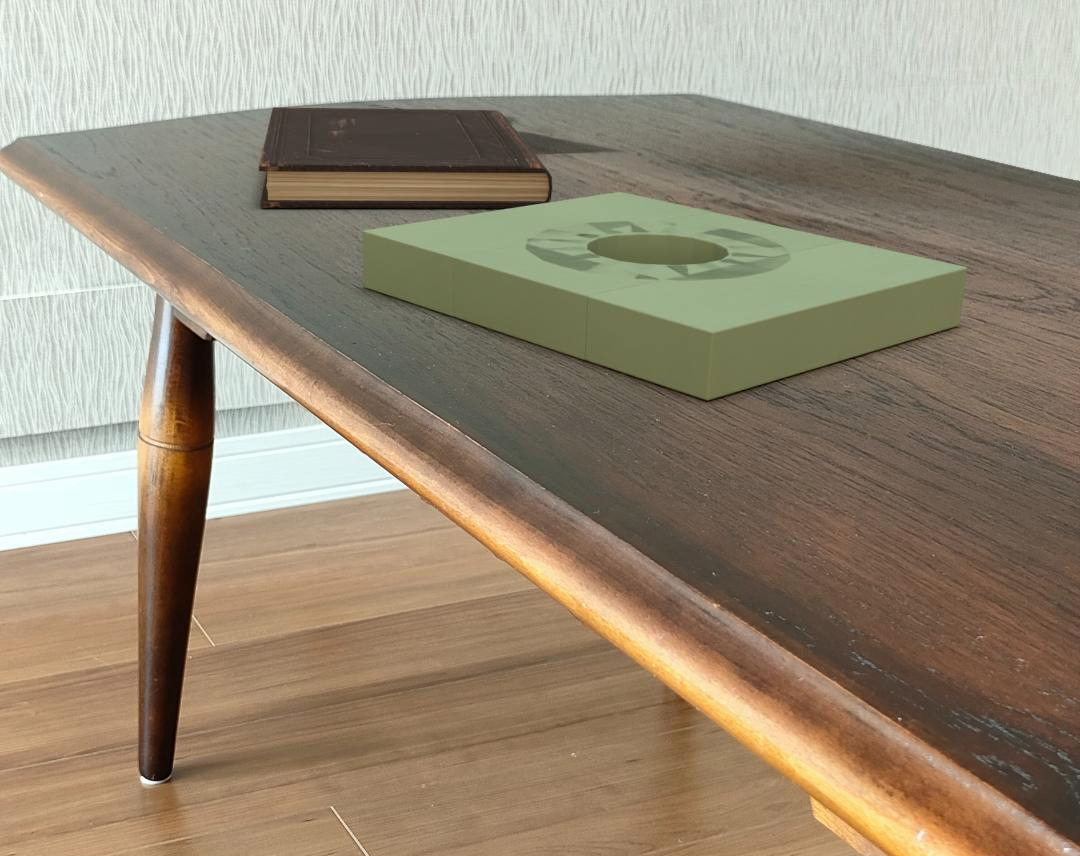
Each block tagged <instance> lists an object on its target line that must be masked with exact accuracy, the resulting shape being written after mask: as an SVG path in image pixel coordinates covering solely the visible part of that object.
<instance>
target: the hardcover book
mask: <svg viewBox="0 0 1080 856" xmlns="http://www.w3.org/2000/svg"><path fill="white" fill-rule="evenodd" d="M258 172H266V174H265V179H264V184H263V188H262V194H261V199H260V208H262V209H264V208H265V209H510V208H516V207H523V206H529V205H536V204H543V203H549V202H551V199H552V193H553V177H552V174H551V173H550V171H549V170H548V168H547V167H546V166H545V165H544V164H543V162H542V161H541V160H540V159H539V157H538V156H537V155H536V154H535V152H533V150H532V149H531V148H530V146H529V145H528V144H527V143H526V141H525V140H524V139H523V137H522V136H521V135H520V134H519V133H518V132H517V131H516V128H515V127H513V126H512V124H511V123H510V122H509V120H508V119H507V118H506V117H505V115H504V113H502V112H500V111H499V110H498V109H442V108H441V109H437V108H435V109H434V108H432V109H431V108H428V109H427V108H359V107H357V108H355V107H353V108H350V107H349V108H346V107H280V106H279V107H278V106H277V107H276V106H275V107H272V109H271V113H270V118H269V122H268V126H267V131H266V134H265V138H264V143H263V148H262V151H261V155H260V160H259V164H258Z"/></svg>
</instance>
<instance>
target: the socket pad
mask: <svg viewBox="0 0 1080 856" xmlns="http://www.w3.org/2000/svg"><path fill="white" fill-rule="evenodd" d="M362 262H363V263H362V265H363V266H362V268H363V269H362V271H363V287H364V288H366V289H369V290H372V291H374V292H377V293H381V294H384V295H387V296H390V297H393V298H395V299H399V300H401V301H406V302H408V303H410V304H413V305H416V306H420V307H422V308H425V309H429V310H432V311H435V312H438V313H440V314H444V315H447V316H450V317H453V318H457V319H460V320H463V321H465V322H469V323H472V324H475V325H477V326H481V327H484V328H486V329H489V330H493V331H494V332H495V331H496V332H498V333H502V334H505V335H508V336H511V337H514V338H516V339H520V340H523V341H526V342H529V343H532V344H534V345H538V346H540V347H544V348H546V349H550V350H553V351H555V352H559V353H562V354H565V355H567V356H571V357H574V358H577V359H581V360H582V361H587V362H590V363H592V364H595V365H599V366H602V367H605V368H608V369H611V370H614V371H617V372H620V373H622V374H626V375H629V376H632V377H635V378H638V379H641V380H644V381H647V382H650V383H653V384H656V385H660V386H661V387H665V388H668V389H671V390H674V391H677V392H681V393H683V394H685V395H689V396H691V397H696V398H698V399H701V400H704V401H711V400H714V399H718V398H720V397H724V396H727V395H731V394H734V393H737V392H741V391H744V390H748V389H751V388H754V387H757V386H761V385H765V384H767V383H771V382H774V381H778V380H781V379H784V378H787V377H791V376H795V375H798V374H801V373H804V372H808V371H812V370H814V369H818V368H821V367H825V366H829V365H832V364H835V363H838V362H842V361H844V360H848V359H851V358H855V357H859V356H862V355H865V354H869V353H872V352H875V351H879V350H882V349H885V348H888V347H889V348H890V347H892V346H895V345H899V344H902V343H905V342H909V341H913V340H915V339H919V338H923V337H925V336H929V335H932V334H936V333H939V332H943V331H945V330H949V329H952V328H956V327H959V326H960V322H961V315H962V311H963V310H962V308H963V303H964V297H965V288H966V282H967V275H968V267H967V266H963V265H959V264H954V263H949V262H945V261H941V260H935V259H932V258H927V257H922V256H918V255H912V254H908V253H904V252H901V251H900V252H899V251H894V250H890V249H885V248H881V247H876V246H872V245H867V244H862V243H858V242H854V241H853V242H852V241H849V240H843V239H839V238H835V237H829V236H825V235H820V234H815V233H813V232H812V233H811V232H807V231H802V230H797V229H792V228H788V227H783V226H780V225H779V226H778V225H774V224H769V223H766V222H761V221H757V220H751V219H748V218H742V217H737V216H734V215H733V216H732V215H728V214H723V213H719V212H714V211H711V210H707V209H702V208H696V207H692V206H687V205H683V204H678V203H673V202H668V201H665V200H659V199H655V198H651V197H646V196H641V195H637V194H633V193H628V192H623V191H616V192H609V193H603V194H597V195H590V196H589V195H588V196H582V197H575V198H569V199H563V200H556V201H549V203H543V204H536V205H529V206H523V207H516V208H502V209H498V210H490V211H484V212H477V213H470V214H465V215H464V214H463V215H457V216H451V217H444V218H438V219H431V220H425V221H418V222H412V223H404V224H398V225H391V226H385V227H377V228H371V229H365V230H362Z"/></svg>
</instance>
